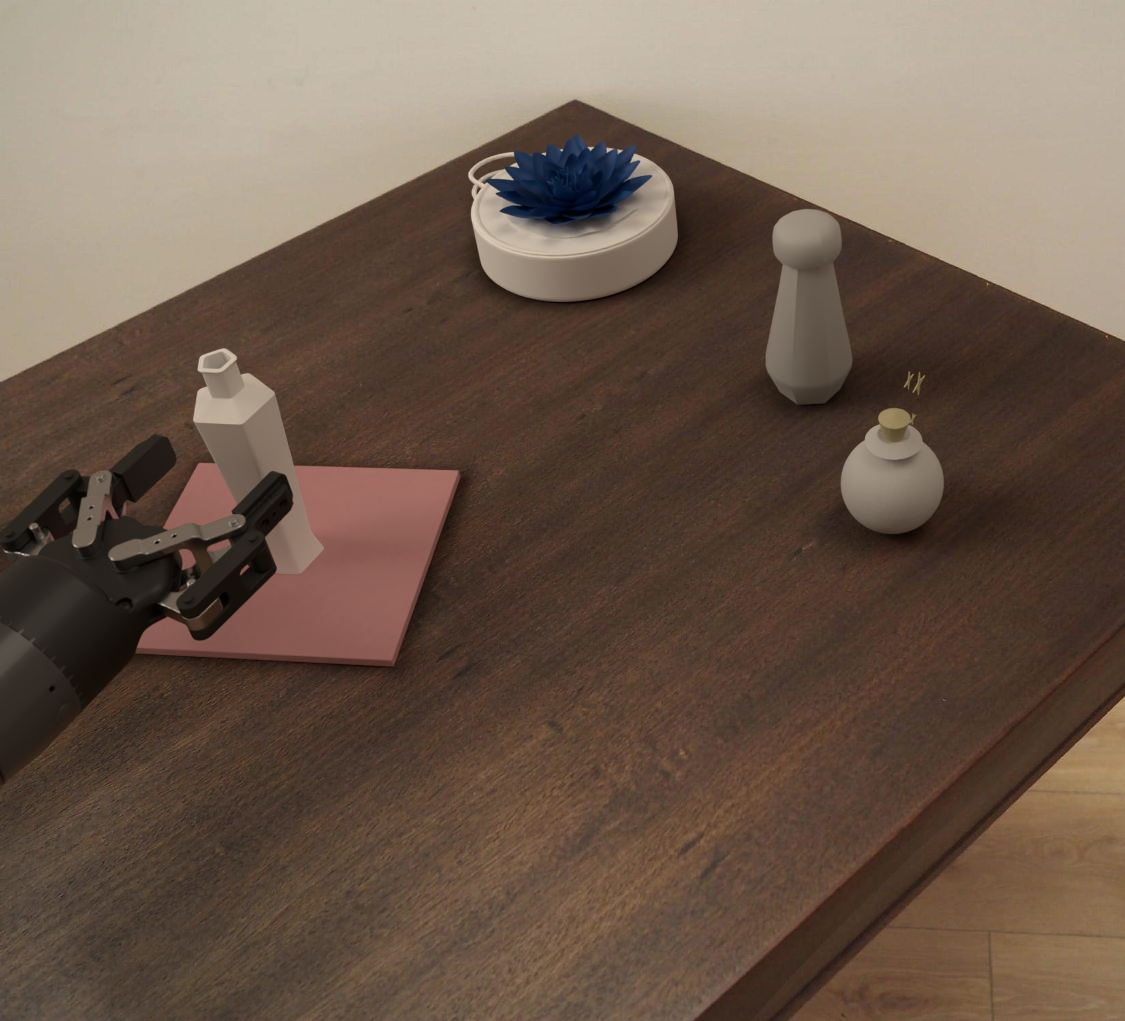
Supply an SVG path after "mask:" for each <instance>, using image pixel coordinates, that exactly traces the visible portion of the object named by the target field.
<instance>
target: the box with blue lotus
mask: <svg viewBox="0 0 1125 1021" xmlns="http://www.w3.org/2000/svg"><path fill="white" fill-rule="evenodd" d="M636 150H637V145H635V144H633V145H630V146H629V147H626V148H624V149H618V148H612V147H611V148H610V147H607V145H606V143H605V141H600V142H598V143H597V144H596V145H595V146H587V144H586V142H585V140H584V139H583V137H582V136H581V135H579V134H575V135H573V137H570V138H568V139H567V141H566V142H565V144H564V146H563V148H562V149H561V148H559V147H558V146H556V145H555V144H552V143H549V144H548V145H547V146H546V151H545V152H542V153H541V152H538V151H534V152H533V153H532V154H529V153H527V152H524V151H520V150H514V151H510V152H503V153H498V154H494V155H492V156H489V157H486V158H484V159H482V160H480V161H479V162H477V163H476V164H475V165H474V166H472V167H471V168H470V169H469V171H468V175H467V177H468V179H469V181H470V182H471V183H472V184H473V186H472V189H471V197H472V198H473V201H472V204H471V209H470V219H471V223H472V228H473V233H474V237H475V243H476V246H477V252H478V257H479V261H480V264H481V267H482V269H483V271H484V272H485V274H486V276H488V278H489V279H491V280H492V281H493V282H494V283H495V284H496V285H497V286H499V287H501V288H502V289H504V290H506V291H508V292H510V293H511V294H515V295H517V296H521V297H524V298H528V299H531V300H536V301H544V302H557V303H569V302H571V303H572V302H581V301H583V302H584V301H589V300H595V299H601V298H605V297H609V296H612V295H615V294H618V293H620V292H621V293H622V292H624V291H626V290H628V289H631V288H634V287H635V286H637V285H639V284H641V283H643V282H644V281H646V280H647V279H649V278H650V277H652V276H653V275H654V274H656V273H657V272H658V271H659V270H660V269H661V268H662V267H663V266H664V265H666V263H667V262H668V261H669V260H670V258H671V256H672V255H673V254H674V251H675V249H676V246H677V244H678V238H679V232H678V231H679V230H678V220H677V213H676V212H677V211H676V210H677V209H676V200H675V190H674V185H673V183H672V180H671V178H670V177H669V175H668V174H667V173H666V172H665V170H664V169H662V168H661V167H660V166H659V165H657V163H656V162H654V161H652V160H650V159H649V158H646V157H644V156H642V155H639V154H637V153H635V152H636ZM506 158H514V159H515V162H514V163H513V164H511V165H504V169H498V170H494V171H491V172H489V173H486V174H484V175H483V176H481V177H480V178H479V179H476V177H475V176H474V174H475V172H477V170H479V168H481V167H482V166H485V165H486V164H488V163H491V162H493V161H497V160H501V159H506ZM484 182H486V183H484ZM479 188H480V190H478V189H479Z"/></svg>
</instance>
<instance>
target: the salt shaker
mask: <svg viewBox="0 0 1125 1021" xmlns="http://www.w3.org/2000/svg"><path fill="white" fill-rule="evenodd" d="M842 239H843V238H842V232H841V227H840V223H839V221H838V220H837V219H836V218H834V216H833V215H831V214H830V213H828V212H825V211H822V210H820V209H813V208H812V209H811V208H804V209H803V208H802V209H798V210H793V211H791V212H789V213H787V214H785V215H783V216H782V217H780V218H779V219H778V221H777V222H776V223H775V225H774V226H773V229H772V250H773V255H774V256H775V259H777V260H778V261H779V262H780V263H781V265H782V267H781V273H780V279H779V285H778V289H777V294H776V300H775V304H774V310H773V315H772V320H771V324H770V330H769V335H768V340H767V345H766V350H765V368H766V372H767V374H768V376H769V377H770V379H771V380H772V382H773V383H774V385H775V386H776V388H777V390H778V392H779V393H781V394H782V395H783V396H785V397H786V398H787V399H788V400H790V401H792V402H794V404H796V405H797V406H798V405H818V404H826V403H827V402H828V401H829V400H830V399H831V398H832V397H834V395H836V393H838V392H839V391H840V390H841V388H842V387H843V385H844V383H845V381H846V379H847V377H848V376H849V373H850V371H851V370H852V367H853V366H852V365H853V353H852V348H851V343H850V338H849V334H848V330H847V326H846V325H847V324H846V320H845V316H844V311H843V306H842V301H841V296H840V291H839V286H838V280H837V275H836V271H835V270H836V269H835V266H834V262H835V261H836V259H837V258H838V257H839V256H840V254H841V251H842V246H843V244H842V243H843V240H842Z"/></svg>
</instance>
